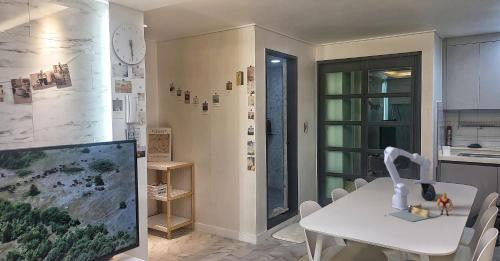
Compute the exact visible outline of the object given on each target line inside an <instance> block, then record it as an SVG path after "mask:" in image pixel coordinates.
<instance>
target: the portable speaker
mask: <svg viewBox="0 0 500 261" xmlns="http://www.w3.org/2000/svg"><path fill="white" fill-rule="evenodd" d="M420 186H421V185H420ZM420 193H421V197H422V198H423V199H424V200H426V201H433V200H435V198H436V196H437V194H436V190H435V186H434V184H429V187H428V189H427V192H426V194H424V192H423V189H422V186H421V187H420Z"/></svg>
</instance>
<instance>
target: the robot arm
mask: <svg viewBox="0 0 500 261" xmlns="http://www.w3.org/2000/svg"><path fill="white" fill-rule="evenodd" d="M383 154H384V161H383V163H384V164H385V166H386V169H387V171H388V172H389V175H390V177H391V179H392V182H393V188H394V190H393V191H394V193H395V194H393V196H392V198H391V199H392V200H391V202H392V205H391V208H393V209H398V210H400V211H405V210H408V195H409V194H410V190H409V188H407V187H406V185H405V183H403V181H402V179H401V177H400V174H399V172H398V169H397V168H396V165H395V163H394V162H395V160H396V159H397V158H398V156H402V157H406V158H409V159H410V161H411V162H413V163H416V164H418V165H419V166H420V167H419V168H420V173H419V174H420V179H419V180H413V184H419V185H420V186H422V189H423V192H424V194H426V192H427V189H428V187H429V184H432V185H436V186H437V181H436V180H430V168H431V165H432V162H431V160H430V158H426V157H425V156H421V155H420V154H419V153H417V152H416V153H413V154H412V153H410V152H408V151H406V150H404V149H401V148H397V147H392V146H386V148H385V149H384V151H383Z"/></svg>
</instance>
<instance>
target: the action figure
mask: <svg viewBox="0 0 500 261" xmlns="http://www.w3.org/2000/svg"><path fill="white" fill-rule="evenodd" d="M440 204H442V208H441V210H440ZM447 204H449V209H447ZM436 206H437V207H436V209H437V210H438V211H441V213H439V215H443V214H444V213H443V212H444V209H445V212H446V217H447V216H448V217H449V215H450V214H449V212H452V209H453V201H452V200H451V199H450V198H449V197H447V193H446V192H443V193H442V197H439V198H438V199H437V201H436Z"/></svg>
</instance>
